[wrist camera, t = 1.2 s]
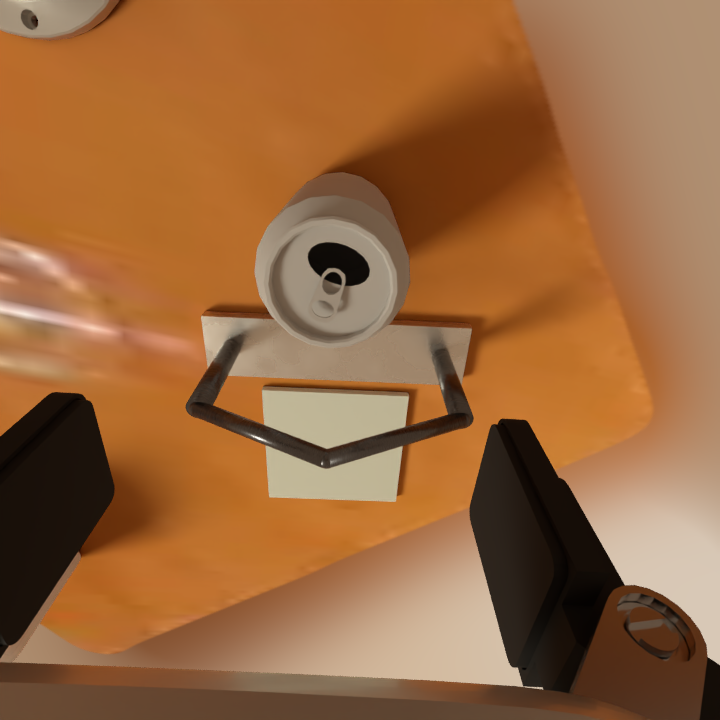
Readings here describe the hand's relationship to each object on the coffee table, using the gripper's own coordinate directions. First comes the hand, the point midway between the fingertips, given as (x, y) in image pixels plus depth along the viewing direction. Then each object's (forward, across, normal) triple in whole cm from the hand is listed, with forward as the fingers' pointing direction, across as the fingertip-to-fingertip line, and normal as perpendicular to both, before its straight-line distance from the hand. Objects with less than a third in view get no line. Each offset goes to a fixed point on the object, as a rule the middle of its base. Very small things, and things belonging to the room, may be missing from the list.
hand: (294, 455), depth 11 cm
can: (+23, 0, 0) cm, 23 cm away
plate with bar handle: (+23, 0, +8) cm, 24 cm away
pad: (+23, 0, +18) cm, 29 cm away
